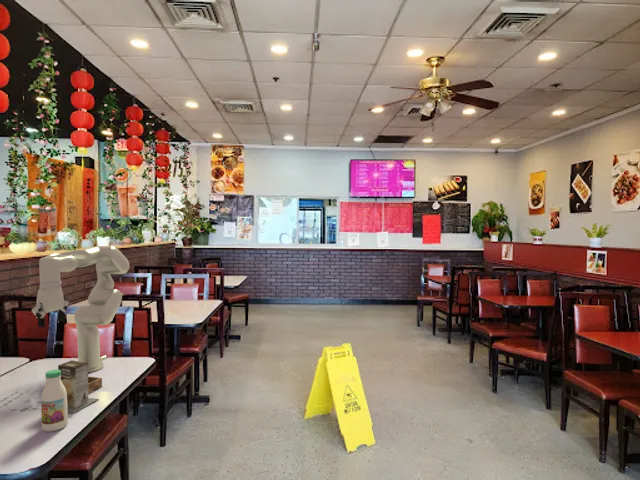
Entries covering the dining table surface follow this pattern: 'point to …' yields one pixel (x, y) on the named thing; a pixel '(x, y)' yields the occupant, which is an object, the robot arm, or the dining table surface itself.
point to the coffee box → (75, 382)
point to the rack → (94, 384)
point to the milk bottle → (54, 403)
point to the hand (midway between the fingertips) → (51, 324)
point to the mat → (74, 410)
